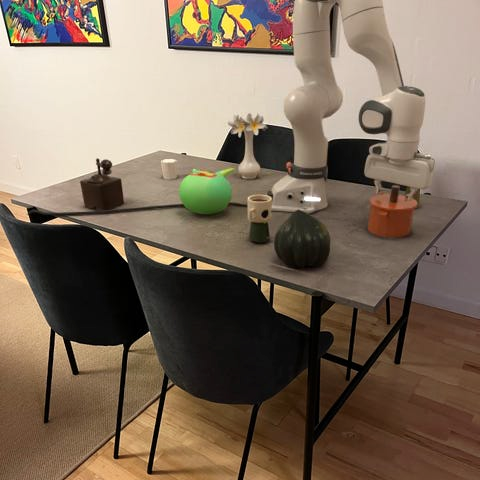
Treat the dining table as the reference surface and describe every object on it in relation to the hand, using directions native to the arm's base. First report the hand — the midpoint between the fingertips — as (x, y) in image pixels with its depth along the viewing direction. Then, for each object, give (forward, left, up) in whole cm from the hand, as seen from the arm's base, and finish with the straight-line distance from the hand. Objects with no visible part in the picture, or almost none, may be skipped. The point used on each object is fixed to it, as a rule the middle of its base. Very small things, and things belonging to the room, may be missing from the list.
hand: (393, 197), depth 145 cm
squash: (-28, -24, -11) cm, 38 cm away
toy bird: (-59, +15, -11) cm, 62 cm away
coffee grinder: (-95, +19, -11) cm, 97 cm away
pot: (0, 0, -11) cm, 11 cm away
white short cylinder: (-80, +56, -11) cm, 98 cm away
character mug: (-40, -9, -11) cm, 42 cm away
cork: (+12, +24, -11) cm, 29 cm away
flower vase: (-47, +58, -11) cm, 75 cm away
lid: (0, 0, -2) cm, 2 cm away
